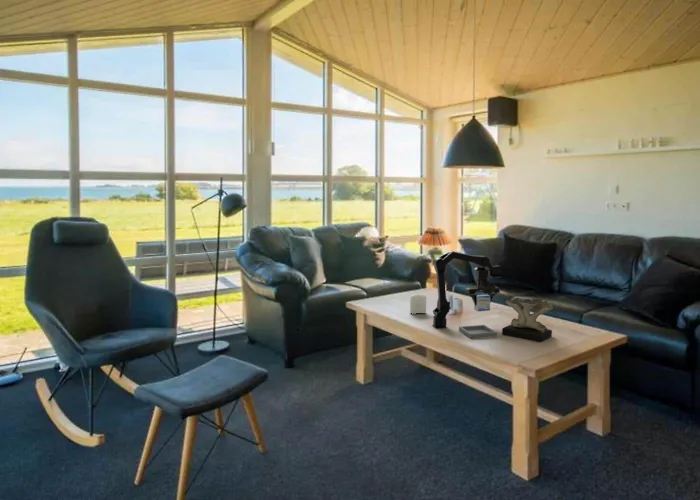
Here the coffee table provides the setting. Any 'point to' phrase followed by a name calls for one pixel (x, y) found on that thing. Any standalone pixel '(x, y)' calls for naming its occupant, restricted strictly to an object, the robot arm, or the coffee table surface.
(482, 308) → the medicine box
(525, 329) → the coral
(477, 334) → the tray
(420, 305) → the photo printer
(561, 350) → the coffee table surface
